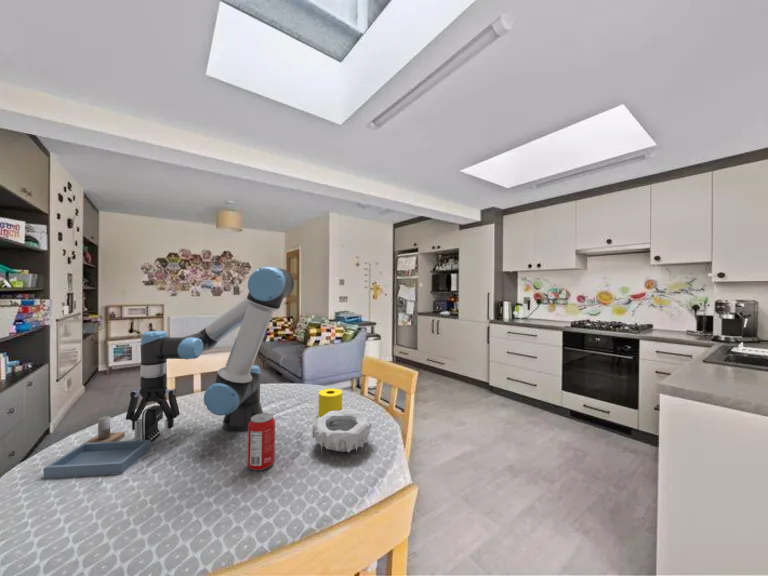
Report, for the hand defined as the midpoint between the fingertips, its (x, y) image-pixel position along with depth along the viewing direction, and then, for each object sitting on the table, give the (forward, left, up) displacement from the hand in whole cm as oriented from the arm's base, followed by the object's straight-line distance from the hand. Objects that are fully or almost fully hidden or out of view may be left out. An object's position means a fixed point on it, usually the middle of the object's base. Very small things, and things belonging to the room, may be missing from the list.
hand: (153, 437), depth 112 cm
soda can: (-42, +21, -1) cm, 47 cm away
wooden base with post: (+15, +1, 0) cm, 15 cm away
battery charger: (0, 0, -1) cm, 1 cm away
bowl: (-67, +12, -1) cm, 68 cm away
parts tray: (+7, +14, 0) cm, 16 cm away
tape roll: (-62, -16, -1) cm, 64 cm away
